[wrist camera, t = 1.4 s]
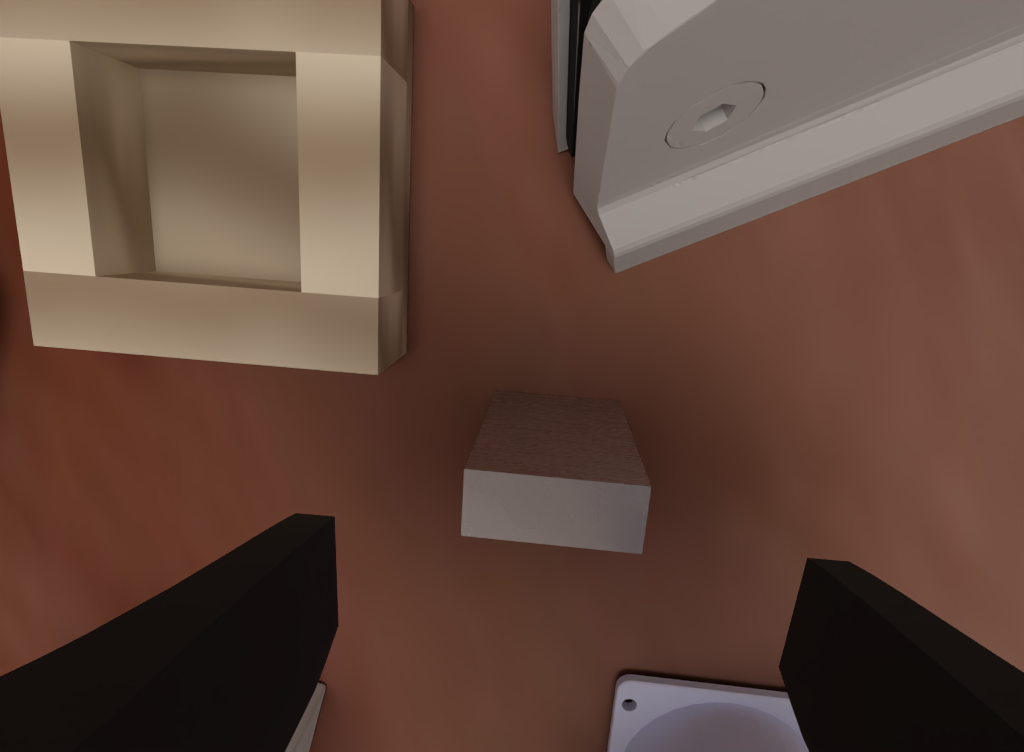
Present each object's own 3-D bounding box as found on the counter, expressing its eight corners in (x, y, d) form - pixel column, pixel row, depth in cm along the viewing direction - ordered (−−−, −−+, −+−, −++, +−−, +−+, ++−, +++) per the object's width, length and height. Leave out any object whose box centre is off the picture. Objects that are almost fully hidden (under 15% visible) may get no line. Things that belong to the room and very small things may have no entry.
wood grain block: (496, 390, 19) (463, 469, 12) (619, 400, 18) (651, 487, 12) (489, 502, 20) (456, 628, 13) (606, 513, 19) (629, 648, 13)
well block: (406, 353, 18) (377, 374, 16) (114, 328, 19) (33, 345, 16) (414, 6, 16) (381, -45, 13) (78, -9, 17) (-24, -60, 14)
